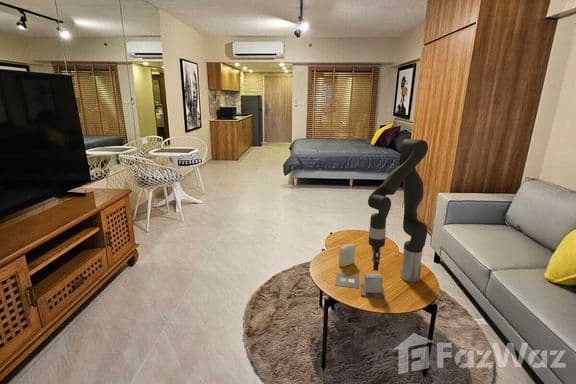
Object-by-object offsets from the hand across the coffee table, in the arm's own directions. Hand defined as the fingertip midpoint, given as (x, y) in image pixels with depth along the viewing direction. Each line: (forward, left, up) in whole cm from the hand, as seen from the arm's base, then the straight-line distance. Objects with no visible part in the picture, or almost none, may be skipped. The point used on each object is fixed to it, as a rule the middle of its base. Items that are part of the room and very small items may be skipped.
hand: (375, 265), depth 151 cm
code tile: (+13, -8, -15) cm, 21 cm away
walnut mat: (0, 0, -15) cm, 15 cm away
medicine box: (0, 0, -14) cm, 14 cm away
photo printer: (+14, -26, -15) cm, 33 cm away
